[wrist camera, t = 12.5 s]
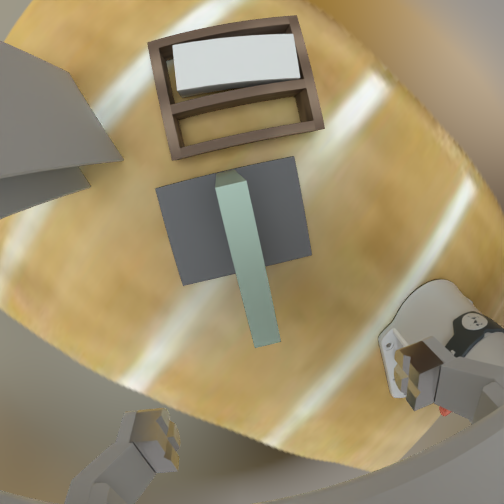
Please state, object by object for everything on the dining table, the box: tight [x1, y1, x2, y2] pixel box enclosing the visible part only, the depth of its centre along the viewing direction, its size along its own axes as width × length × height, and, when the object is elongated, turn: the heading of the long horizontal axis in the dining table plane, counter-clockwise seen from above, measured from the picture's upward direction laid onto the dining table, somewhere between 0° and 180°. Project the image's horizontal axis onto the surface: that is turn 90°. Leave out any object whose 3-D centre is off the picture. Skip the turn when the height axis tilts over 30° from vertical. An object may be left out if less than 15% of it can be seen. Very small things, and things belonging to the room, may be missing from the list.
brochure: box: [0, 41, 124, 219], centre depth 18 cm, size 14×6×30 cm, turn 32°
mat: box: [156, 156, 312, 286], centre depth 37 cm, size 12×16×1 cm
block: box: [215, 170, 281, 348], centre depth 29 cm, size 2×12×16 cm, turn 12°
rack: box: [148, 15, 325, 161], centre depth 31 cm, size 13×16×5 cm
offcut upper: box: [172, 34, 300, 96], centre depth 29 cm, size 5×12×3 cm, turn 97°
